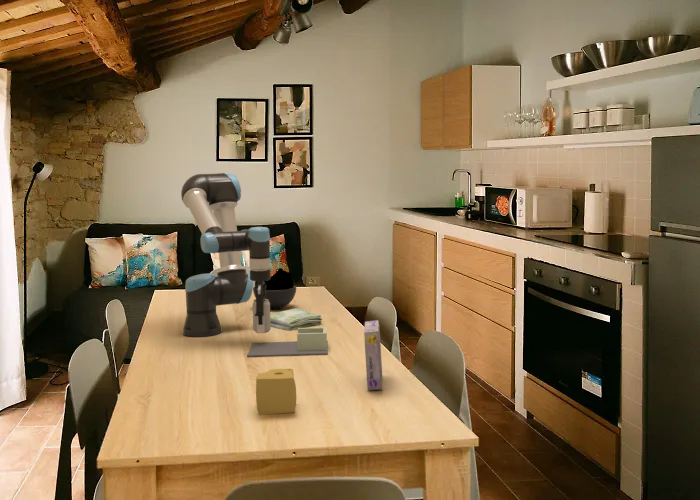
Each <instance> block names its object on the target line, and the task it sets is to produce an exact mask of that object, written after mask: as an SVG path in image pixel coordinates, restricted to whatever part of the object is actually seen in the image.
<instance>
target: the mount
mask: <svg viewBox="0 0 700 500" xmlns="http://www.w3.org/2000/svg"><path fill="white" fill-rule="evenodd" d="M327 329H328V328H327V326H324V327H323V326H322V327H303V328H298V329H297V334H296V337H297V338H296V339H297V341H295V340H294V341H293V340H292V341H270V342H269V341H265V342H264V341H263V342H252V343H251V344H250V347H249V350H248V352H247V355H246V357H247V358H263V357H264V358H266V357H267V358H270V357H295V356H296V357H299V356H301V357H302V356H303V357H304V356H327V355H328V352H329V351H328V349H329V348H328V345H329V343H328V337H327V336H328V335H327V334H328V333H327Z"/></svg>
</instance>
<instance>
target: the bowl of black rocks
mask: <svg viewBox="0 0 700 500" xmlns="http://www.w3.org/2000/svg"><path fill="white" fill-rule="evenodd" d="M270 276H271V278H270V280H267V281H264V282H265V284H266V295H265V299H268V300H269V303H270V310H279V309H282V308H285V307H286V306H288V305H289V304H290V303H291V302H292V301H293V299H294V298H295V296H296V292H297V286H296V285H294V283H295V282H294V281H293V280H292V274H291V273H290V272H289V271H286V270H284V269H283V268H282V267H279V268H278V269H277V270H276V272H275V273H273V274H272V275H270ZM255 284H257V281H254V285H255ZM252 294H253V295H254V297H255V299H256V296H255V286H253V289H252Z"/></svg>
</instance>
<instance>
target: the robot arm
mask: <svg viewBox="0 0 700 500" xmlns="http://www.w3.org/2000/svg"><path fill="white" fill-rule="evenodd" d="M180 197H181V200H182V203H183V205H184V206H185V207H186V208H188V209H189V211H190V214H191V215H192V216H193V217H192V218H193V219H194V221H195V222H196V225H197V226H198V229H199V231H200V232H201V236H200V242H199V243H200V248H201V250H202V252H203V253H205V254H218V259H219V270H218V271H217V273H216V275H217V276H216V275H215V274H214V273H212V272H211V273H210V272H209V273H200V274H196V275H192V276H190V277H188V278H187V279H186V280H185V286H184V287H185V289H184V291H185V302H186V303H185V305H186V316H185V320H184V324H183V329H182V334H183V335H184V336H185V335H187V336H186V337H191V336H194V338H197V337H198V338H200V337H212V336H215V335H220V334H221V333H222V325H221V322H220V320H219V317H218V314H217V306H225V305H234V304H236V305H238V304H243V303H247V302H249V300H250V299H251V297H252V295H253V288H254V287H255V295H254V297H255V296H256V298H255V299H256V314H255V316H257V333H256V334H266V333H265V326H264V301H265V300H264V299H265V295H266V284H265V282H264V281H267V280H270V278H271V276H272V275H271V269H270V268H271V263H272V262H273V260H271V258H270V257H271V240H270V239H271V236H270V228H268V227H265V226H264V227H263V226H255V227H254V226H253V227H250V228H248V229H242V230H238V227H237V219H236V211H235V209H236V207H237V205H238V201H240V200H241V198H242V188H241V184H240V180H239V179H238V177H237V176H236V175H235V173H234V174H233V173H225V172H222V173H198V174H195V175H191V176H190V177H189V178H188V179H187V180H186V181H185V182H184V184H183V186H182V187H181V191H180ZM243 251H249V255H248V256H249V258H248V261H249V269H250V270H249V273H247V269H246V268H245V267H244V266H243V265H242V257H241V252H243ZM255 281H257V284H255V283H254V282H255ZM253 283H254V284H253Z"/></svg>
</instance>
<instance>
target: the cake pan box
mask: <svg viewBox="0 0 700 500" xmlns="http://www.w3.org/2000/svg"><path fill="white" fill-rule="evenodd" d="M363 331H364V337H363V338H364V350H365V370H366V373H365V374H366V386H367V390H368V391H383V368H382V367H383V365H382V364H383V362H382V345H381V331H380V321H379V319H378V320H369V321H365V322H364V330H363Z"/></svg>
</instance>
